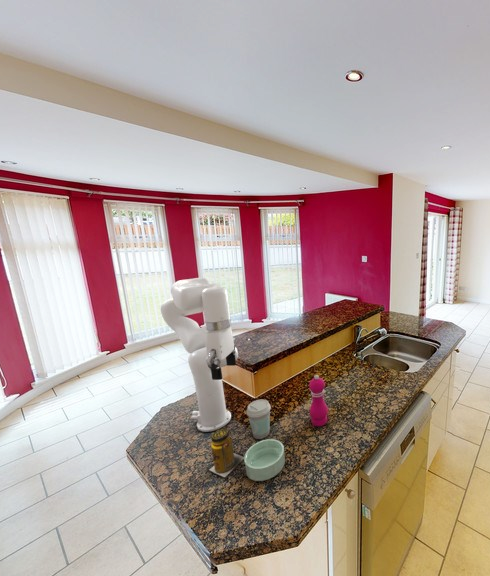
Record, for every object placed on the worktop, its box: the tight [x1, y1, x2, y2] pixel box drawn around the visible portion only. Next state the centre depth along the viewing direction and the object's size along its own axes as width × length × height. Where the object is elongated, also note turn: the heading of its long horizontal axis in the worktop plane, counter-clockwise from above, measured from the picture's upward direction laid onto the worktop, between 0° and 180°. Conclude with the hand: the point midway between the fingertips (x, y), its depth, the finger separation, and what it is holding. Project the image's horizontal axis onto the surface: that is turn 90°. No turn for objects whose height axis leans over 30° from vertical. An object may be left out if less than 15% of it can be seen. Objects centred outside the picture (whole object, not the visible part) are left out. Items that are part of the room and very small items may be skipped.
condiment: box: [208, 428, 245, 478], centre depth 91 cm, size 7×8×12 cm
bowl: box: [243, 438, 286, 482], centre depth 91 cm, size 12×12×5 cm
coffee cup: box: [246, 399, 272, 440], centre depth 105 cm, size 8×8×12 cm
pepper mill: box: [308, 374, 329, 427], centre depth 110 cm, size 7×7×20 cm
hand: (224, 371), depth 96 cm, fingers open, 9 cm apart
